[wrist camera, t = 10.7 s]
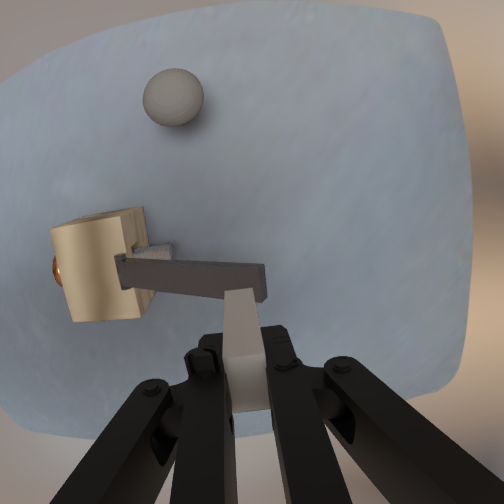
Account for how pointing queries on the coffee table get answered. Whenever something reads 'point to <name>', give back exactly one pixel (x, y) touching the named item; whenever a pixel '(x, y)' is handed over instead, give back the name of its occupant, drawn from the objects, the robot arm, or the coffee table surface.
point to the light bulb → (173, 97)
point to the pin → (134, 256)
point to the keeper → (191, 276)
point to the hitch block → (100, 264)
